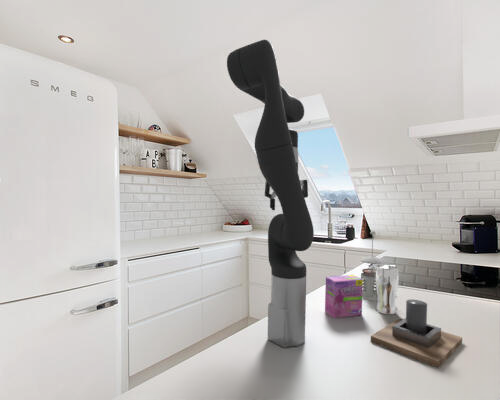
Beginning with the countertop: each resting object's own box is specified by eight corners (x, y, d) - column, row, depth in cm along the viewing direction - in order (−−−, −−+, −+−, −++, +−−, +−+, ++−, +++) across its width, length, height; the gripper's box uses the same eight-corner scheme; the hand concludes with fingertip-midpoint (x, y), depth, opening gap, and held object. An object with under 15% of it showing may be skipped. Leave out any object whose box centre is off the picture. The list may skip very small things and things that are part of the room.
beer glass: (378, 305, 106) (379, 263, 106) (399, 310, 102) (401, 266, 102) (371, 311, 101) (373, 266, 101) (394, 317, 97) (395, 270, 96)
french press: (380, 292, 121) (381, 229, 120) (390, 303, 109) (392, 233, 109) (354, 291, 122) (356, 229, 121) (362, 301, 110) (364, 232, 110)
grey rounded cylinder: (422, 342, 77) (423, 307, 77) (402, 336, 80) (403, 302, 80) (428, 336, 80) (429, 302, 80) (409, 330, 84) (410, 298, 84)
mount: (438, 368, 68) (439, 350, 68) (370, 341, 80) (371, 326, 80) (462, 343, 80) (462, 328, 80) (399, 323, 92) (400, 309, 92)
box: (333, 318, 95) (334, 281, 95) (324, 311, 100) (325, 276, 100) (362, 315, 98) (363, 279, 97) (352, 309, 103) (352, 274, 103)
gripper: (267, 160, 97) (266, 210, 97) (311, 161, 98) (310, 211, 99) (263, 162, 104) (263, 209, 105) (304, 163, 106) (303, 210, 106)
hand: (285, 210), depth 102 cm, fingers open, 8 cm apart
